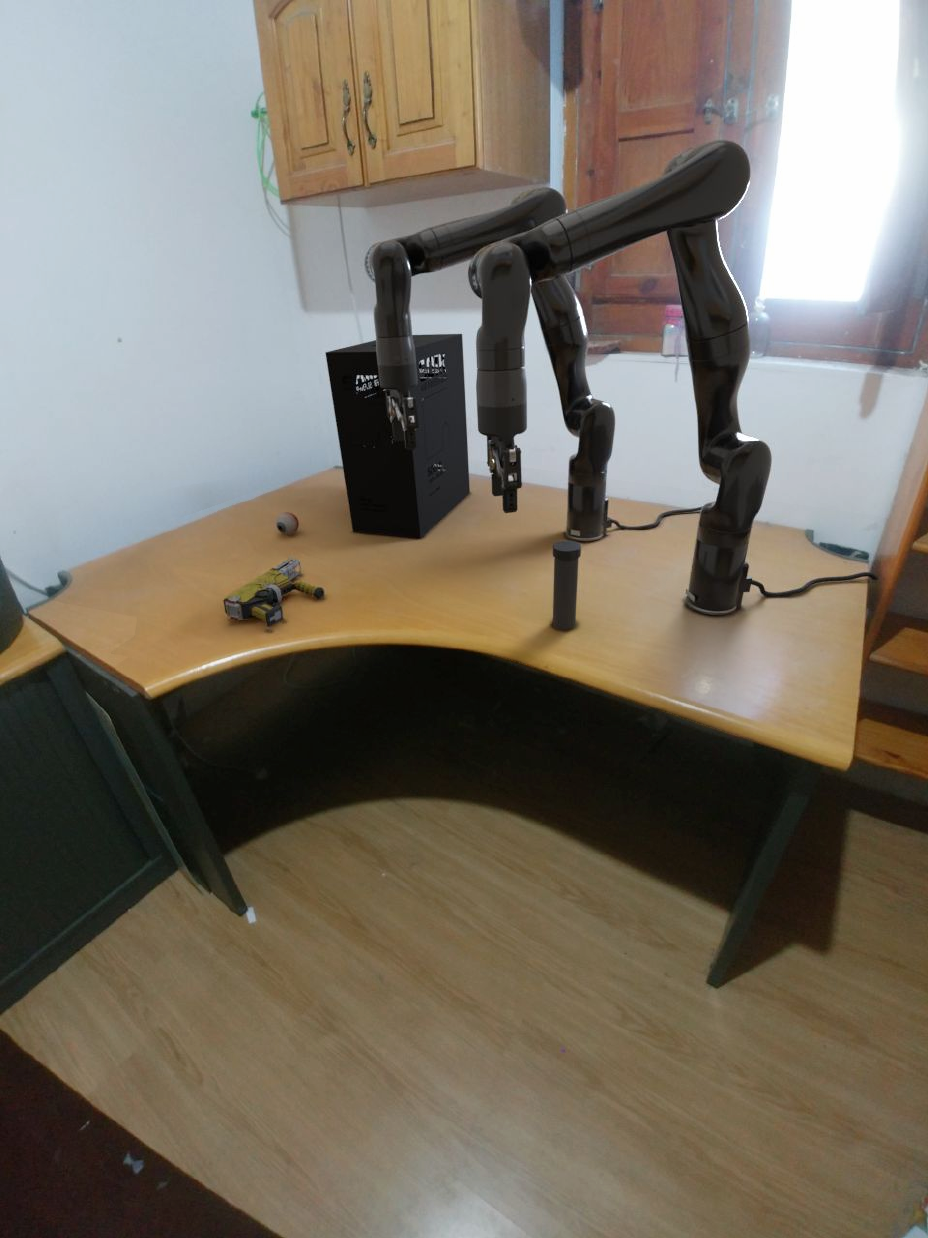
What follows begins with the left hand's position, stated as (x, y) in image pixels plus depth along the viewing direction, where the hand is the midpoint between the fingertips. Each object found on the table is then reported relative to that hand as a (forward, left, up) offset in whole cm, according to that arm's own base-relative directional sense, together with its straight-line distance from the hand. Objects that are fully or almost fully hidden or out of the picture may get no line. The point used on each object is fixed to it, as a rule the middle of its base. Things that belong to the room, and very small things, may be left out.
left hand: (404, 444), depth 126 cm
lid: (-18, +36, -13) cm, 43 cm away
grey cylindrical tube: (-18, +36, -29) cm, 50 cm away
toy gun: (+30, +1, -29) cm, 42 cm away
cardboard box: (-12, -39, -29) cm, 50 cm away
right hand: (-5, +37, -2) cm, 38 cm away
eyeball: (+24, -39, -29) cm, 55 cm away
